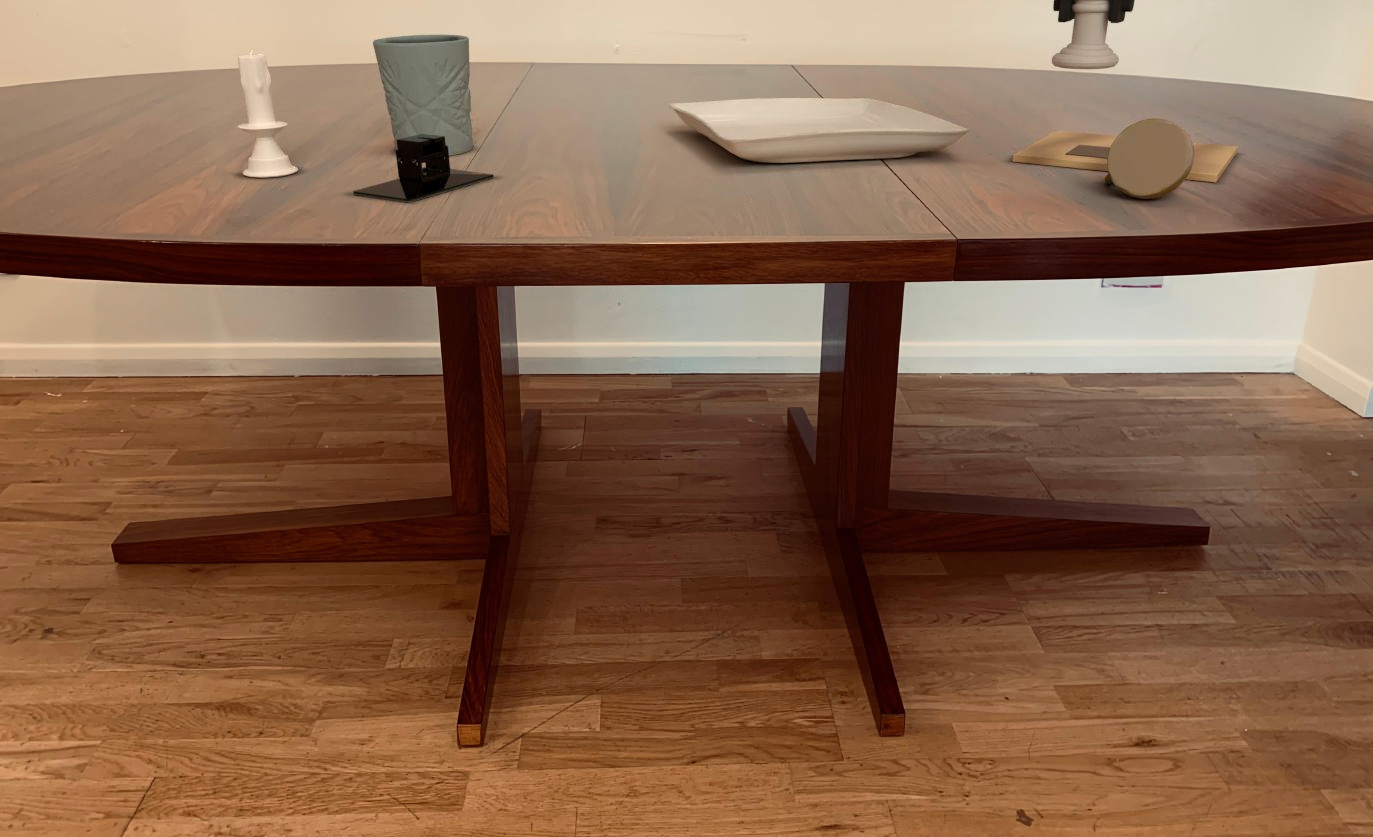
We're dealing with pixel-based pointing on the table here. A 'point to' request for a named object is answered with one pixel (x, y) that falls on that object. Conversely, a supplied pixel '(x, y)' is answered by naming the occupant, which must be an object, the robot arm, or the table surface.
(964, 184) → the table surface
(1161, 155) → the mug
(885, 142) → the square plate
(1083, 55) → the chess piece
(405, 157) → the motor on base plate
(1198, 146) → the board
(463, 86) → the drinking glass
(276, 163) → the candle
